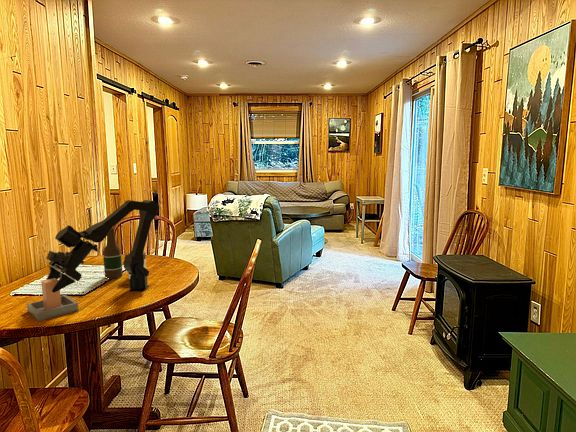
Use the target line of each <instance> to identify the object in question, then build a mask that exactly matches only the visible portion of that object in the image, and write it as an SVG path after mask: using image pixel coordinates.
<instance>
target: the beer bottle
mask: <svg viewBox="0 0 576 432" xmlns="http://www.w3.org/2000/svg"><path fill="white" fill-rule="evenodd" d="M115 230H116V228H115V227H112V229H111V230H110V232H109V234H108V235H107V236H106V244H105V245H106V246H105V247H104V249H103V252H102V253H103V254H102V258H103V268H104V269H103V270H104V278H105V277H107V278H109V279H108V280H116V279H120V278H122V277H123V261H122V260H123V259H122V250H121V248H120V246H119V245H118V244H117V241H116V233H115ZM107 278H106V279H107Z"/></svg>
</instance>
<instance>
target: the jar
mask: <svg viewBox="0 0 576 432" xmlns="http://www.w3.org/2000/svg"><path fill="white" fill-rule="evenodd" d="M130 253H131V252H129V253H126V254H127V255H129V254H130ZM143 257H144V268H146V269H147V259H146V258H147V255H146V252H145V251H144V252H143ZM127 273H128V272H127ZM130 276H131V275H130V274H129V273H128V280H129V279H130Z"/></svg>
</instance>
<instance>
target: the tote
mask: <svg viewBox="0 0 576 432" xmlns="http://www.w3.org/2000/svg"><path fill="white" fill-rule="evenodd" d="M60 296H61V307H57V308H53V309H49V310H44V304H43V299H41V300H38V301H34V302H29V303H28V302H27V303H26V308H27V312H28V314H30V315H31V317H33V318H34V319H35V320H37V322H41V321H46V320H49V319H52V318H53V319H54V318H57V317H60V316H63V315H64V316H65V315H66V314H67V315H68V314H72V313H75V312H78V311H79V302H77V301H75V300H74V299H73V298H71V297H69V296H68V295H67V294H64V295H63V294H62V295H60ZM71 312H72V313H71ZM56 316H57V317H56Z"/></svg>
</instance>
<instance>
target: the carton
mask: <svg viewBox="0 0 576 432" xmlns="http://www.w3.org/2000/svg"><path fill="white" fill-rule="evenodd" d="M58 280H59V279H56V278H53V279H48V280H46V279H44V280H41V281H40V283H41V291H42V293H41V294H42V300H43V304H44V310H49V309H53V308H57V307H61V296H62V295H61V289H60V290H58V291H57V292H55V293H54V292H52V290H53V288H54V286H55V285H56V283H57V282H58Z"/></svg>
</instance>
